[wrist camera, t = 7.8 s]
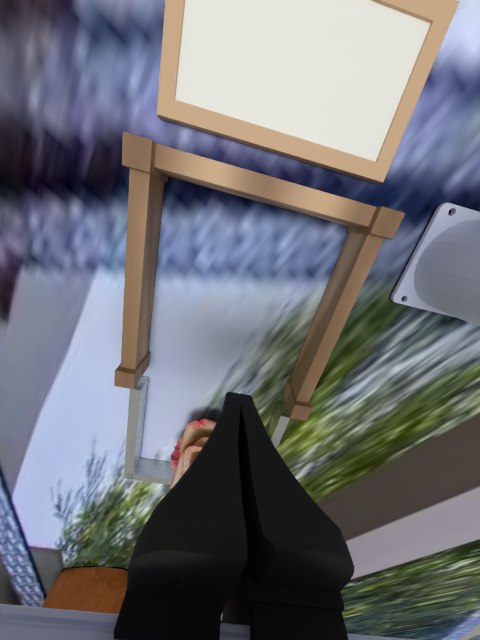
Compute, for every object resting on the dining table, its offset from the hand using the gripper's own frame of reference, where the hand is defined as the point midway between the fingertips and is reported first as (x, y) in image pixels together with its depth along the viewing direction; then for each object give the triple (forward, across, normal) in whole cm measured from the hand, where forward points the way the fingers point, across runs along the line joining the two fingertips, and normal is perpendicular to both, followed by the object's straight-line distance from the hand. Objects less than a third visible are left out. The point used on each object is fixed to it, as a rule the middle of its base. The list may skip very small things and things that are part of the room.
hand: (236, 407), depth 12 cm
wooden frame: (+10, +1, -3) cm, 10 cm away
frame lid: (+10, 0, -19) cm, 21 cm away
